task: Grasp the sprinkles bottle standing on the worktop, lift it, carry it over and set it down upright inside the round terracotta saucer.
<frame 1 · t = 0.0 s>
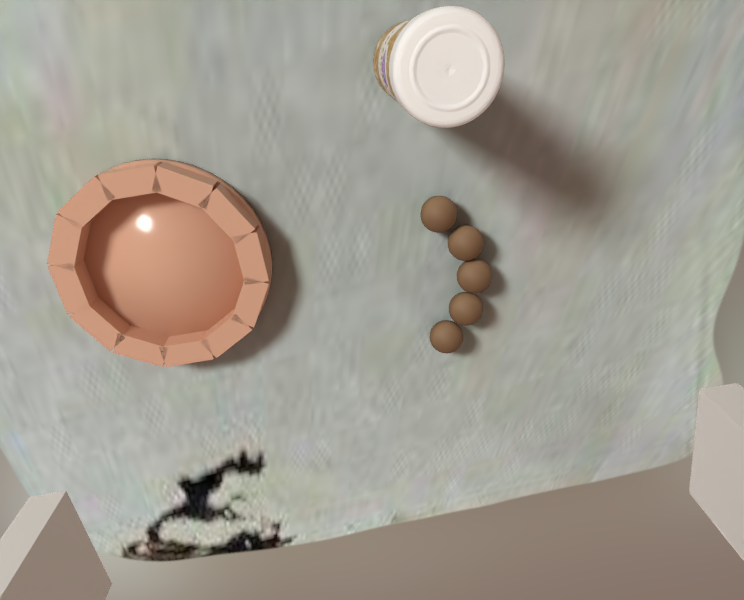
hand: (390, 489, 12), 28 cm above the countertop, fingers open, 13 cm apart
bead string: (460, 255, 40), on the countertop
sprinkles bottle: (409, 62, 35), on the countertop
saucer: (169, 261, 39), on the countertop
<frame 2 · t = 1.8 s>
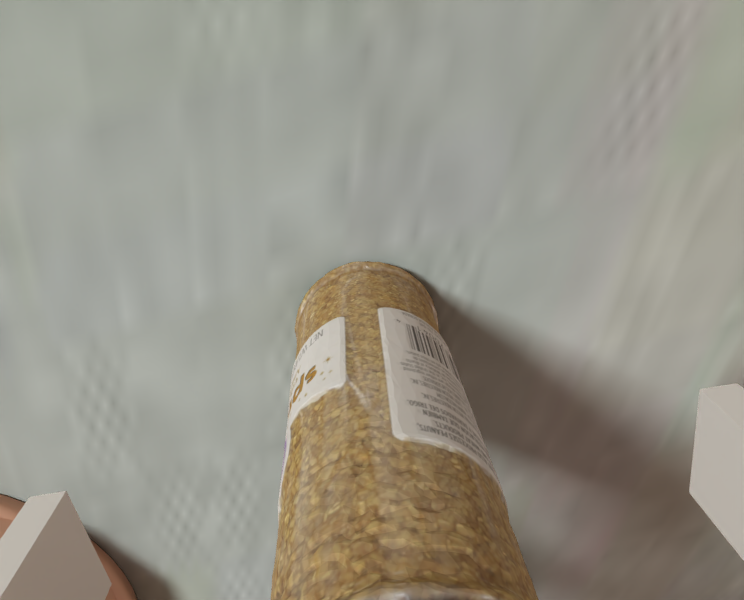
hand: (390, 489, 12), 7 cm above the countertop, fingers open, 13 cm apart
sprinkles bottle: (367, 321, 18), on the countertop
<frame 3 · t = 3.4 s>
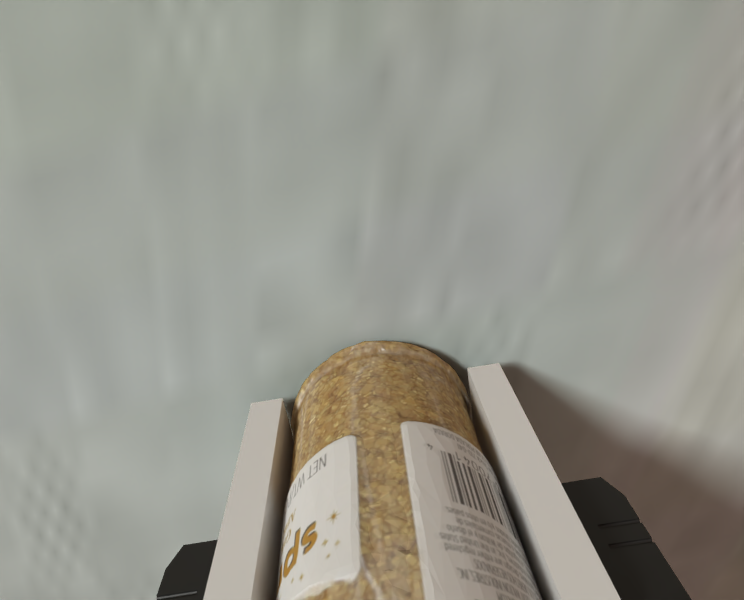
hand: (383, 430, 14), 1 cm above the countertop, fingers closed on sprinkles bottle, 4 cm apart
sprinkles bottle: (381, 408, 15), on the countertop, touching gripper
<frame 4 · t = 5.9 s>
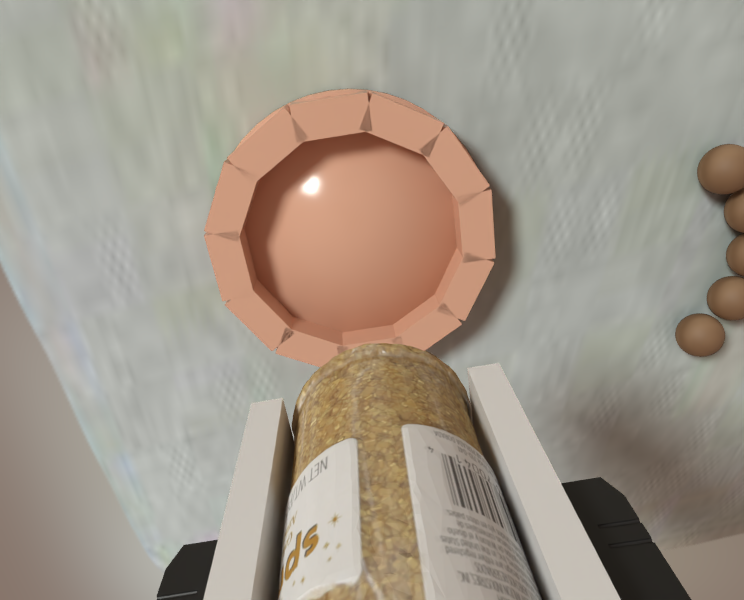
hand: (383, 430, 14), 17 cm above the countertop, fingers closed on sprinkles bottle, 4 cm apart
bead string: (729, 227, 30), on the countertop
sprinkles bottle: (382, 410, 15), point 16 cm above the countertop, touching gripper
saucer: (352, 233, 29), on the countertop
when the fingers open (3 cm above the countertop, at t = 8.7 s): sprinkles bottle drops 2 cm, resting on saucer.
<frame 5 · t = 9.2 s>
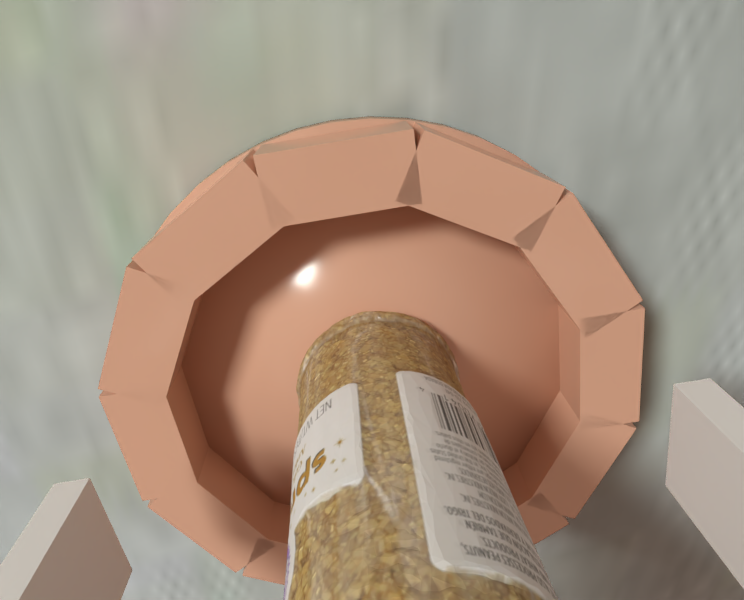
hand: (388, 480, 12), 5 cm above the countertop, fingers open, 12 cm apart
sprinkles bottle: (378, 376, 16), point 1 cm above the countertop, touching saucer
saucer: (375, 364, 17), on the countertop
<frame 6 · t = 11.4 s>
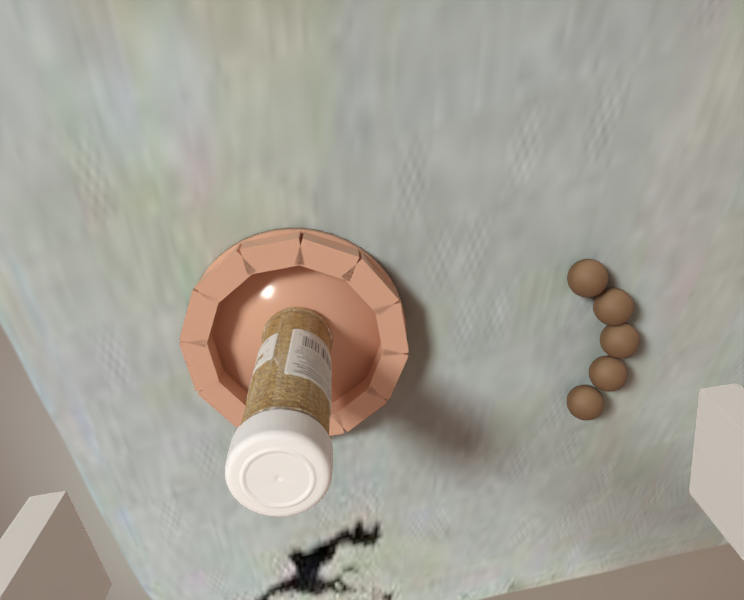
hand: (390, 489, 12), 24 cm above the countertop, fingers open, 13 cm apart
bead string: (602, 317, 38), on the countertop
sprinkles bottle: (298, 335, 36), point 1 cm above the countertop, touching saucer
saucer: (298, 331, 37), on the countertop
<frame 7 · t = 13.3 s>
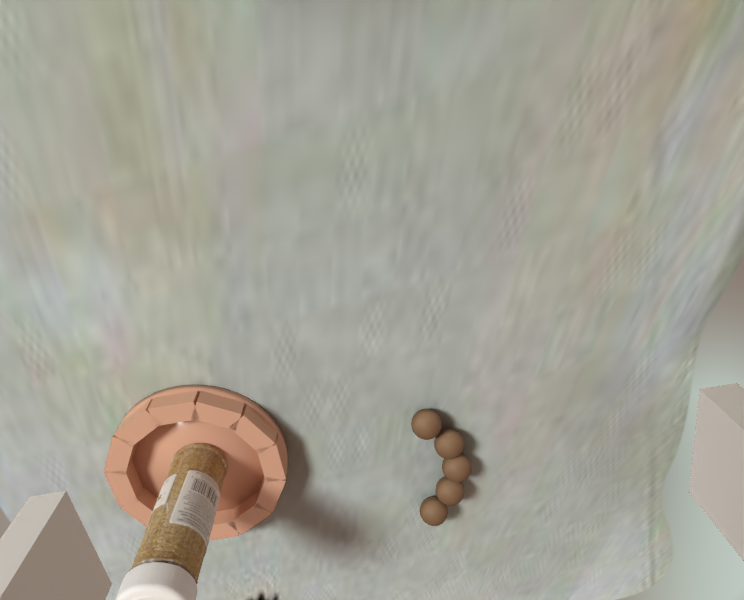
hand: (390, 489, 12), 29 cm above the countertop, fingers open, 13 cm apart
bead string: (445, 447, 47), on the countertop
sprinkles bottle: (201, 461, 46), point 1 cm above the countertop, touching saucer
saucer: (202, 456, 46), on the countertop
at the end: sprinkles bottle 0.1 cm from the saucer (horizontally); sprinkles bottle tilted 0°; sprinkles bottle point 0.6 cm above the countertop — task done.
